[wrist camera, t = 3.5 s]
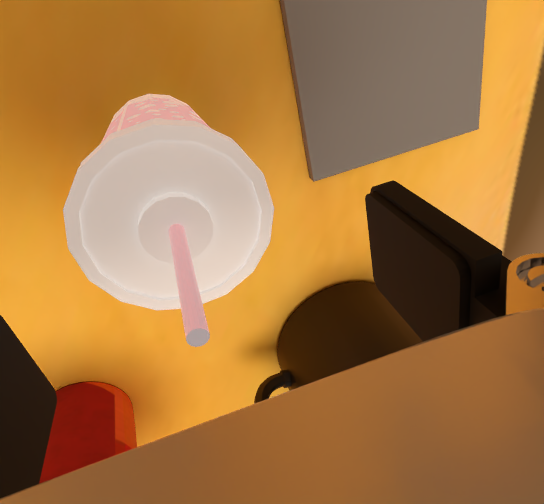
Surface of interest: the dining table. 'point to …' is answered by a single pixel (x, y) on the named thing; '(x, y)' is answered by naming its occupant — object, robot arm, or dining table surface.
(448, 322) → the robot arm
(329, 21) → the plain gray mat
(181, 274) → the beverage cup
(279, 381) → the mug
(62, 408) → the paper cup
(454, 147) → the dining table surface
